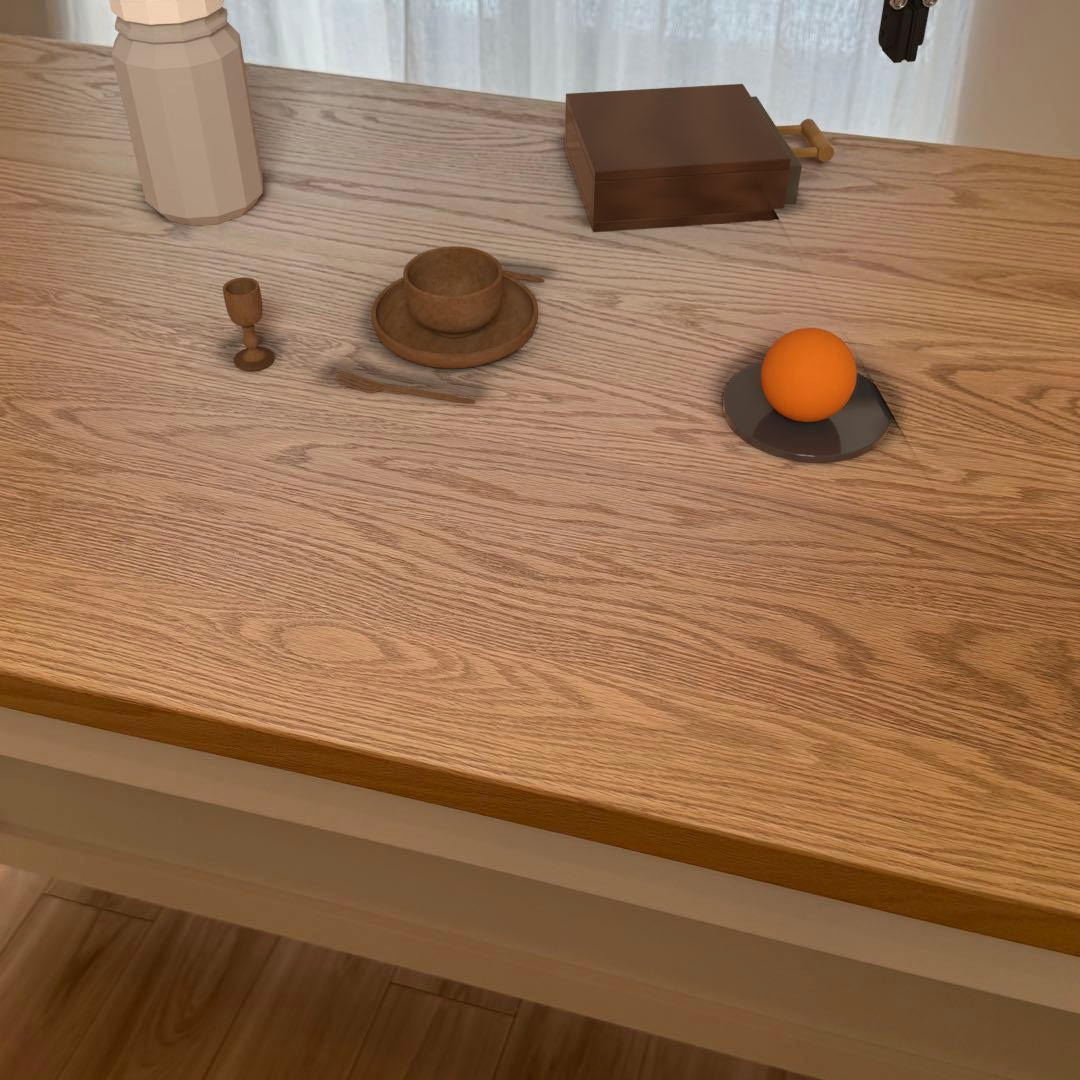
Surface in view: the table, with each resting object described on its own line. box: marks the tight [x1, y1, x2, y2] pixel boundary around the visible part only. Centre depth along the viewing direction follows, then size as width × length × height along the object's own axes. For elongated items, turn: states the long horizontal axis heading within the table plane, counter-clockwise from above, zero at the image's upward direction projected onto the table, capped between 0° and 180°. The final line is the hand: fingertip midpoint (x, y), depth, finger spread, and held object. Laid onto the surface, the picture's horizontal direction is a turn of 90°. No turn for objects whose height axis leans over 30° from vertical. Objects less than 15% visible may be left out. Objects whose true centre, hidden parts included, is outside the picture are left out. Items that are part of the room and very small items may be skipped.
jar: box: [108, 0, 264, 227], centre depth 98 cm, size 10×10×18 cm
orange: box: [761, 327, 858, 422], centre depth 80 cm, size 6×6×6 cm
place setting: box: [222, 245, 545, 404], centre depth 88 cm, size 18×20×6 cm
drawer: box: [751, 96, 835, 206], centre depth 105 cm, size 19×14×3 cm
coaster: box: [722, 360, 892, 464], centre depth 83 cm, size 11×11×1 cm
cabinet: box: [564, 83, 791, 233], centre depth 105 cm, size 16×15×5 cm
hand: (897, 55), depth 95 cm, fingers closed
